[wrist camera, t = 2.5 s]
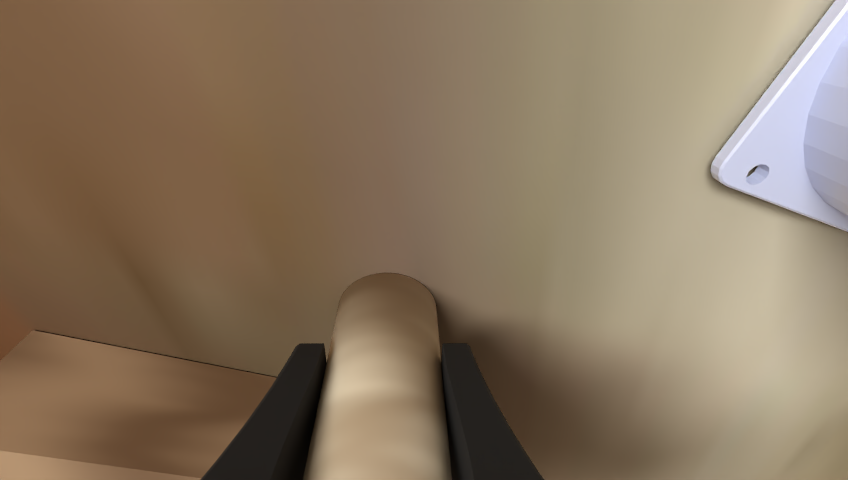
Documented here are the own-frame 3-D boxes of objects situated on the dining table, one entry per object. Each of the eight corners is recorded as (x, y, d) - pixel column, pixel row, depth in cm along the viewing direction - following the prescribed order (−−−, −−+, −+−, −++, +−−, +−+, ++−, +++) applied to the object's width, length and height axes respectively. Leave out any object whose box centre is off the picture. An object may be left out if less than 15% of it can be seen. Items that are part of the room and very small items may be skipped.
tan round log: (451, 287, 12) (508, 668, 5) (418, 354, 14) (429, 718, 7) (351, 260, 12) (277, 656, 5) (327, 335, 13) (244, 714, 6)
